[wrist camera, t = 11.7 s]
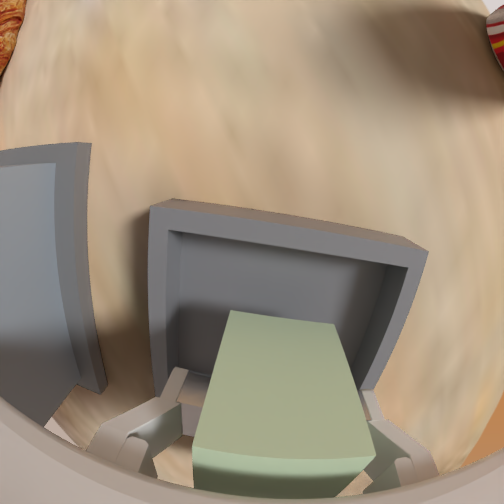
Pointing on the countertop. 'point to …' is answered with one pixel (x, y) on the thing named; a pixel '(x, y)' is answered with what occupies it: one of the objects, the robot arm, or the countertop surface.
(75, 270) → the grey unit
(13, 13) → the croissant
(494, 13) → the soda can
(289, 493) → the sage block
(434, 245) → the countertop surface
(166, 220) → the charcoal tray
